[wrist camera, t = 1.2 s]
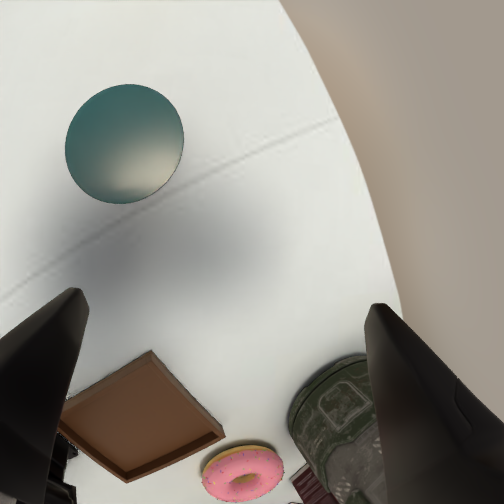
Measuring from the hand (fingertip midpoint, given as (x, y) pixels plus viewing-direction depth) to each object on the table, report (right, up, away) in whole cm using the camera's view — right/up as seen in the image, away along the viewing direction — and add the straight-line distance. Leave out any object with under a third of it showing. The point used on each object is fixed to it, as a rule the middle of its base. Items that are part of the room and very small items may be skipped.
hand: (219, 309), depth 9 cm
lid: (-6, +8, +6) cm, 11 cm away
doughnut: (-1, -27, +26) cm, 37 cm away
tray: (-12, -17, +20) cm, 29 cm away
